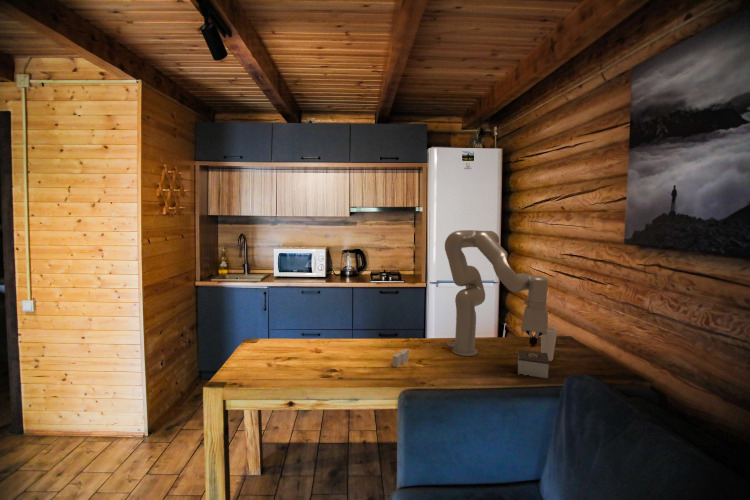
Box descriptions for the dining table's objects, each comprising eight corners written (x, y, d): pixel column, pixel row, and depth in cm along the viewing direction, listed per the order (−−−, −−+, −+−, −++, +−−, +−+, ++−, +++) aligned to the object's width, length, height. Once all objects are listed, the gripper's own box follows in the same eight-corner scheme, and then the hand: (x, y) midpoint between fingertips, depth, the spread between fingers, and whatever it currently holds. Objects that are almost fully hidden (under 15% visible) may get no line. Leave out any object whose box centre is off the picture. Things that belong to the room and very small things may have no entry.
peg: (527, 369, 183) (528, 356, 182) (527, 366, 187) (528, 353, 186) (537, 370, 182) (538, 357, 181) (537, 367, 186) (538, 354, 185)
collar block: (517, 374, 181) (518, 358, 180) (517, 364, 192) (518, 349, 191) (547, 378, 177) (548, 362, 176) (546, 368, 188) (547, 353, 187)
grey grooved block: (406, 357, 198) (407, 345, 198) (420, 366, 188) (420, 353, 188) (378, 362, 192) (379, 350, 191) (391, 371, 182) (391, 358, 181)
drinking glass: (555, 362, 195) (558, 331, 194) (540, 361, 197) (542, 330, 195) (552, 357, 202) (555, 327, 200) (538, 356, 203) (540, 326, 202)
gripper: (518, 304, 180) (514, 345, 182) (555, 309, 176) (551, 351, 178) (518, 301, 187) (514, 340, 190) (554, 305, 183) (550, 345, 185)
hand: (532, 345), depth 184 cm, fingers closed
